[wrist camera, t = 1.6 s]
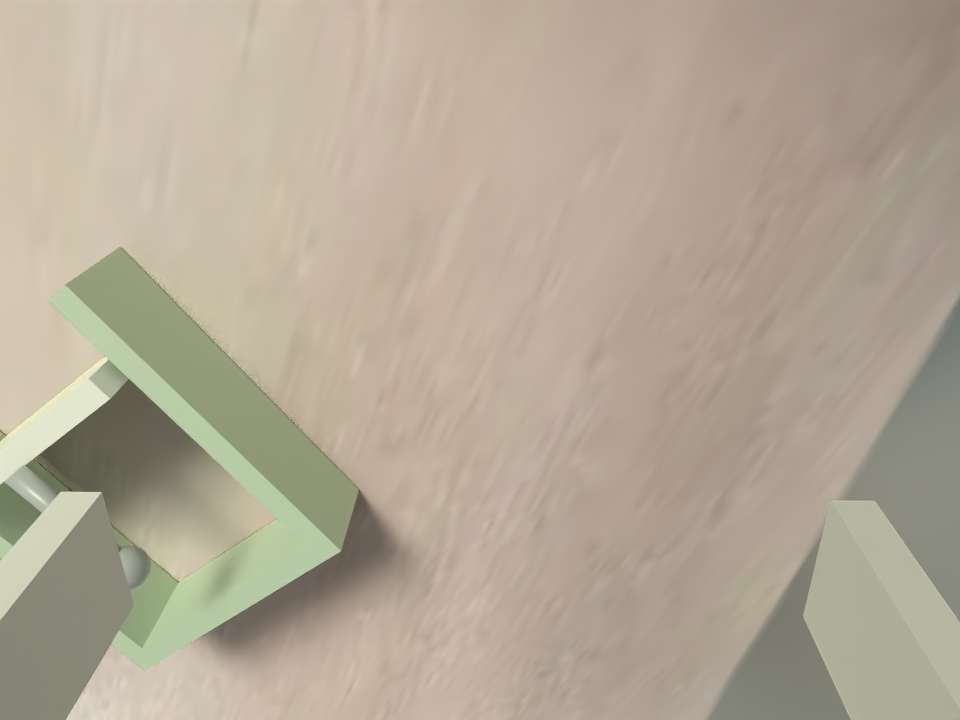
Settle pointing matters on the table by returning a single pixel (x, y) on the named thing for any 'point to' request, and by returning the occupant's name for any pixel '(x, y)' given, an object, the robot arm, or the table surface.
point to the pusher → (51, 425)
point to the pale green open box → (223, 435)
